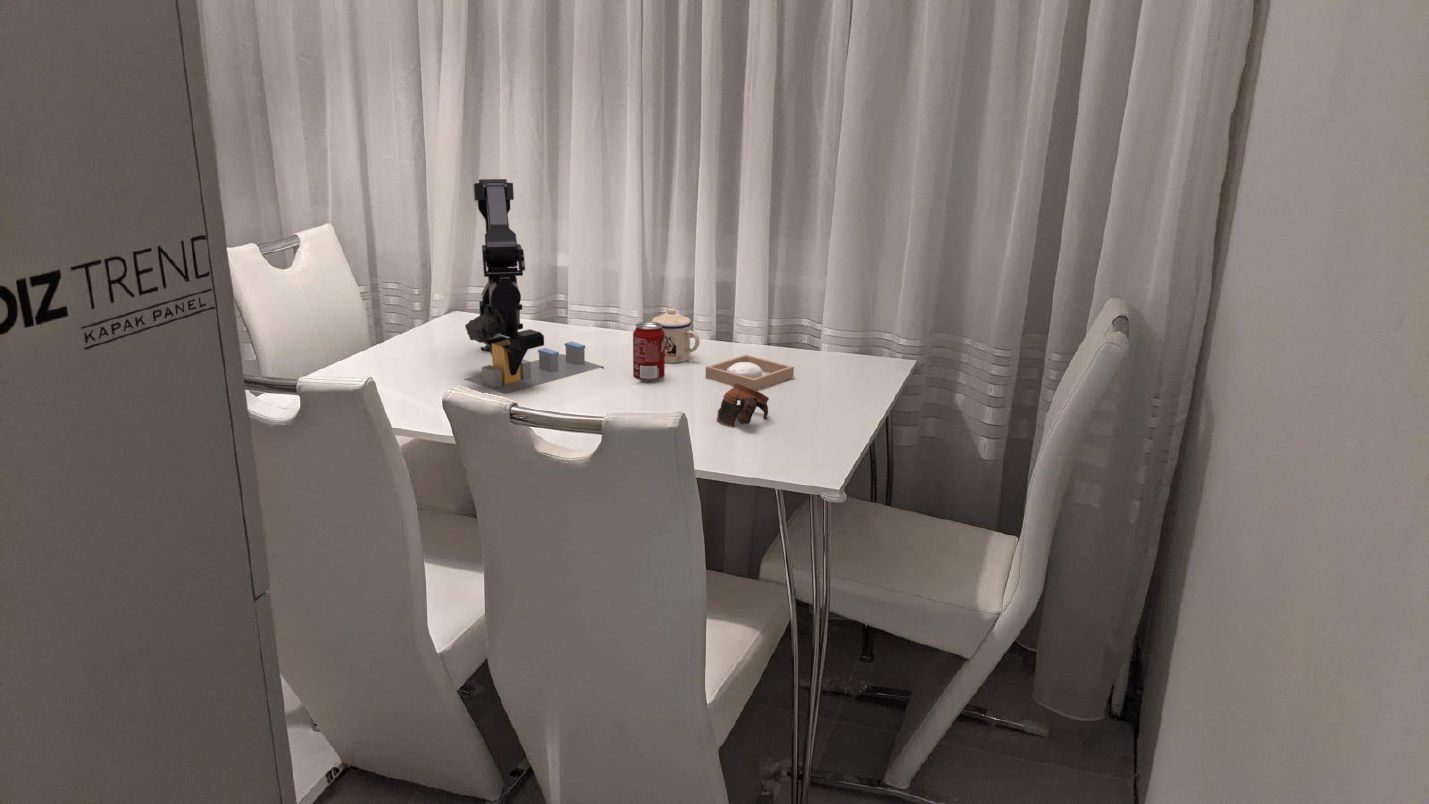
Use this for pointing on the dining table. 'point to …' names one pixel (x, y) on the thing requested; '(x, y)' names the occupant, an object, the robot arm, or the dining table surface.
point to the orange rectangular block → (503, 362)
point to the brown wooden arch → (741, 405)
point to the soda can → (648, 352)
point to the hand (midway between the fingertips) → (506, 372)
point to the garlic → (746, 369)
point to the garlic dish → (722, 375)
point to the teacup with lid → (677, 336)
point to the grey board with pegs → (538, 369)
